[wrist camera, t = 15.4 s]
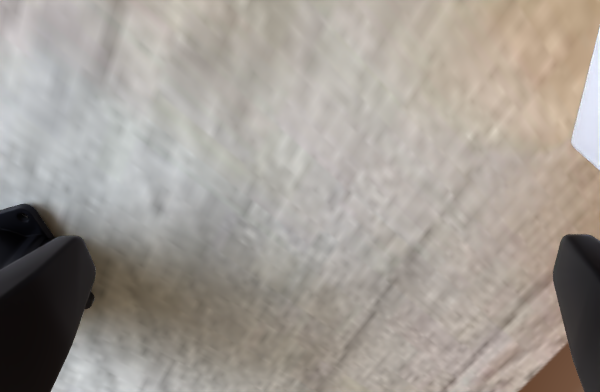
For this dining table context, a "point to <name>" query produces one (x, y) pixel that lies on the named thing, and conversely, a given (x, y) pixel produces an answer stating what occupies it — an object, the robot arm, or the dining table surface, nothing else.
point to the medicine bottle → (590, 113)
